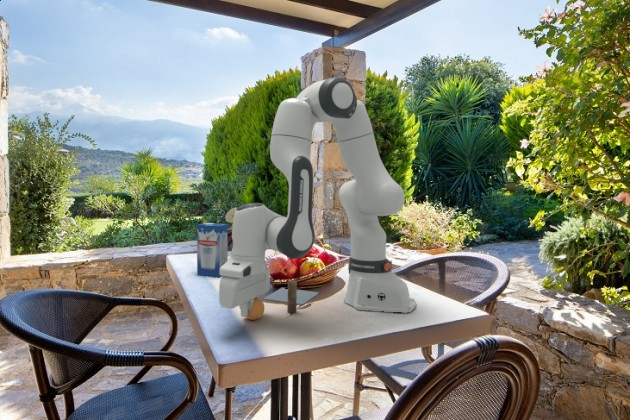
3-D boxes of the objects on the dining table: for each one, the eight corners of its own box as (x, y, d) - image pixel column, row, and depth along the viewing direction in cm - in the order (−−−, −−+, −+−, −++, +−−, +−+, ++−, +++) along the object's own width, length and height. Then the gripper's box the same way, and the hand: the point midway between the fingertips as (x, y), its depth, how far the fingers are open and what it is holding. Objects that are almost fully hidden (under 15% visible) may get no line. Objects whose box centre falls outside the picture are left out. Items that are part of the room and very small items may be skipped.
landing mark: (319, 293, 138) (319, 292, 138) (302, 304, 125) (302, 304, 125) (282, 288, 143) (282, 287, 143) (262, 299, 130) (262, 298, 130)
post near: (297, 310, 120) (298, 281, 119) (294, 313, 117) (294, 283, 116) (289, 309, 121) (290, 279, 120) (285, 312, 118) (286, 282, 117)
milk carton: (197, 275, 159) (196, 224, 157) (206, 271, 164) (205, 222, 163) (219, 277, 156) (219, 226, 154) (227, 274, 161) (227, 224, 160)
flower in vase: (249, 259, 190) (249, 206, 188) (258, 264, 180) (258, 208, 178) (221, 261, 184) (221, 206, 182) (229, 266, 174) (229, 208, 172)
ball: (262, 325, 111) (271, 306, 114) (253, 313, 107) (262, 294, 111) (245, 322, 113) (253, 304, 117) (235, 310, 110) (244, 292, 113)
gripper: (256, 257, 118) (254, 303, 119) (215, 269, 99) (213, 325, 100) (276, 259, 116) (274, 307, 117) (237, 273, 97) (235, 329, 98)
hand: (245, 315), depth 108 cm, fingers closed
